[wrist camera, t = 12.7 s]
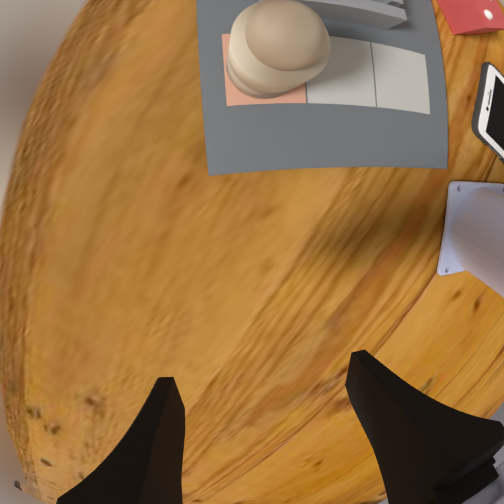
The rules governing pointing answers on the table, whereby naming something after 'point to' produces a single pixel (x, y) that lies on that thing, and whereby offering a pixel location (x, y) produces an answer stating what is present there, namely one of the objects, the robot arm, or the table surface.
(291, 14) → the pawn
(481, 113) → the cell phone
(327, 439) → the table surface
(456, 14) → the red die
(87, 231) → the table surface
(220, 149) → the game board
